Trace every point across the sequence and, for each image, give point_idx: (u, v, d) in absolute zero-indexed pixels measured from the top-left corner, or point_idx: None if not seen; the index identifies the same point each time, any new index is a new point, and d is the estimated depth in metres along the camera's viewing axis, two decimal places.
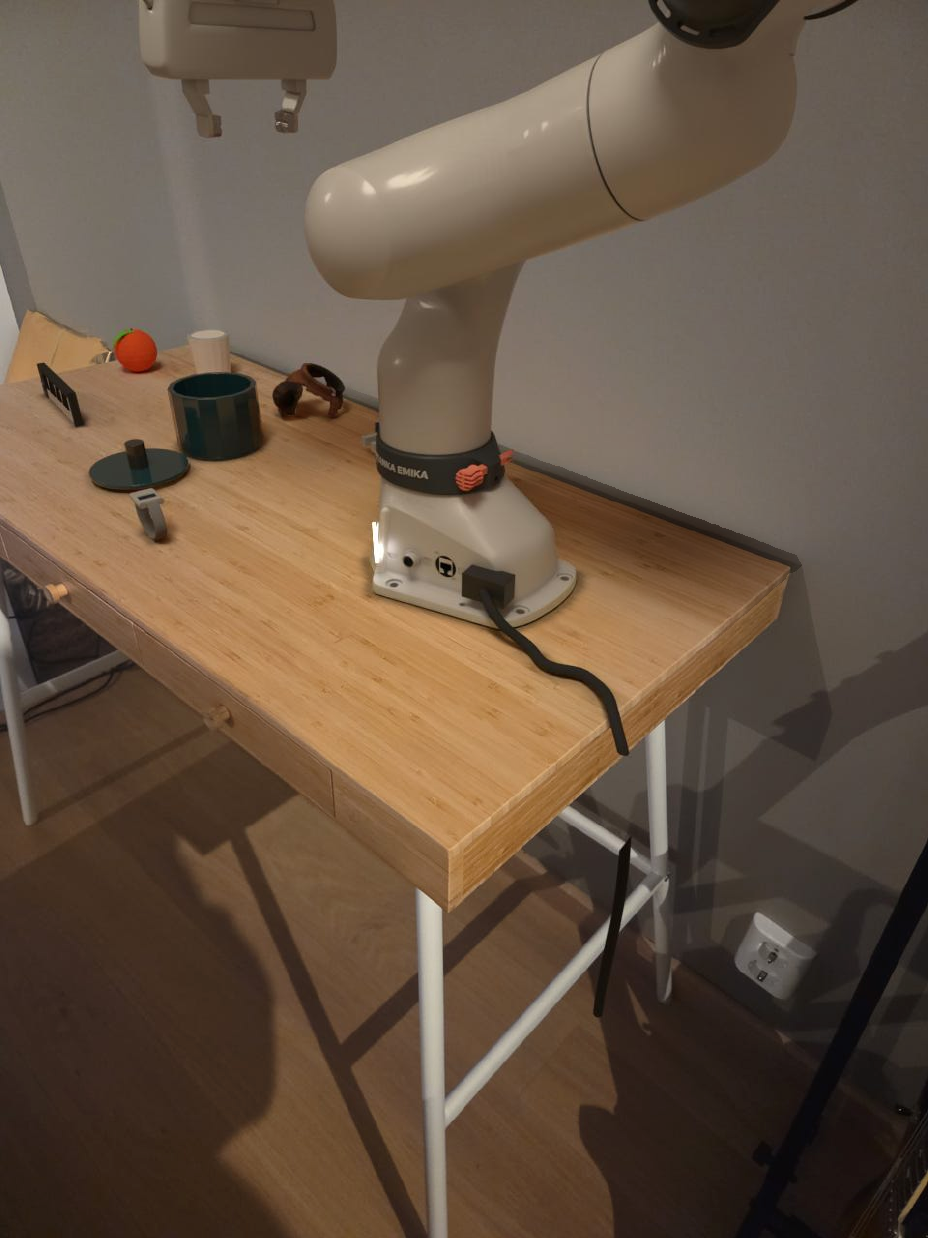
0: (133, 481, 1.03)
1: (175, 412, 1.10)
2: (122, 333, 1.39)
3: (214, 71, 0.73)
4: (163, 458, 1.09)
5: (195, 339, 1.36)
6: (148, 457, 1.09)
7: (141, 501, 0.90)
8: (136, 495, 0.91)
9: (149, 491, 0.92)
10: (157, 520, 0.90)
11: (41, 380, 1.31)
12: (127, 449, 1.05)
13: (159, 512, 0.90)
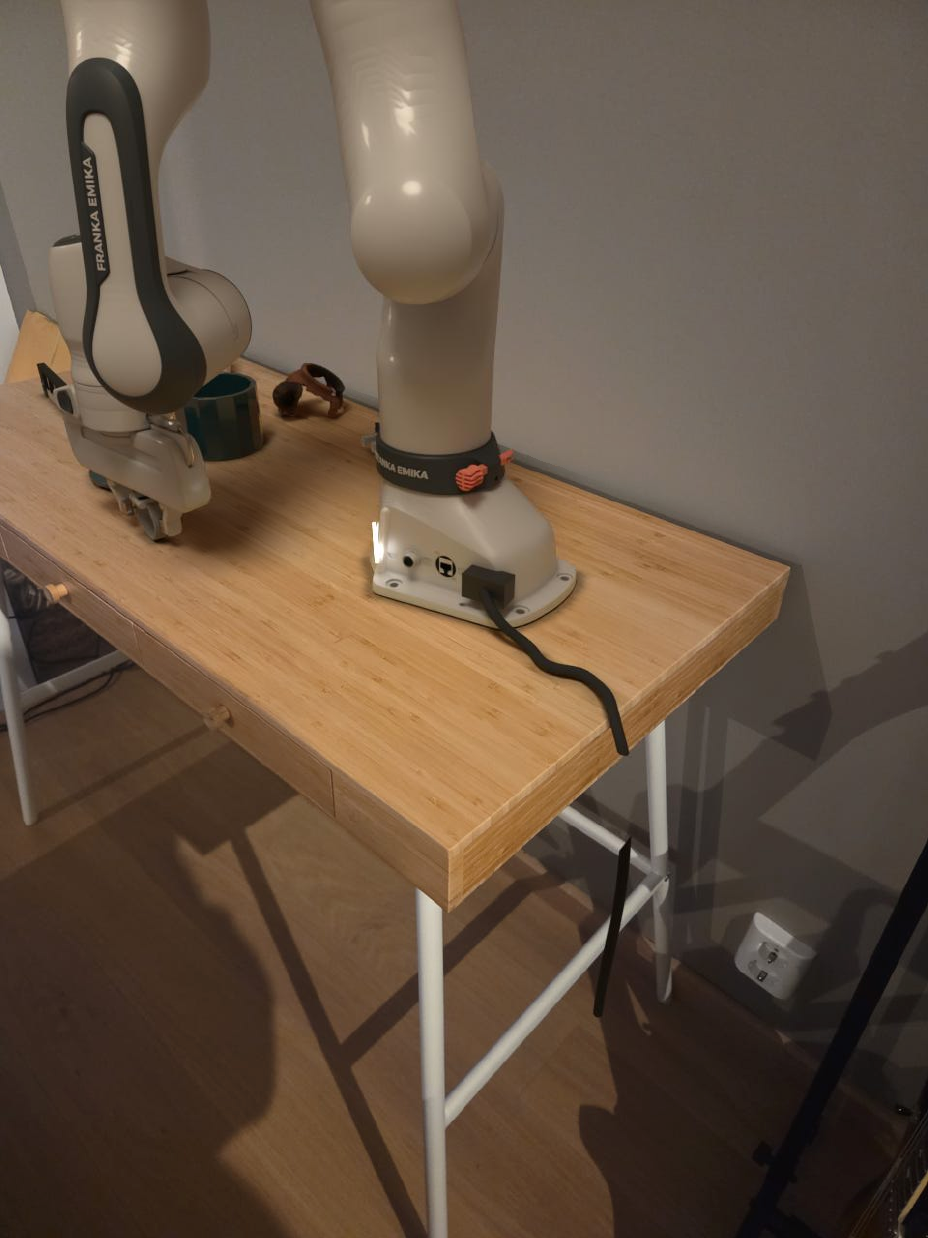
0: None
1: (175, 412, 1.10)
2: None
3: None
4: None
5: None
6: None
7: (141, 501, 0.90)
8: (135, 495, 0.91)
9: None
10: (157, 520, 0.90)
11: (41, 380, 1.31)
12: None
13: (159, 512, 0.90)
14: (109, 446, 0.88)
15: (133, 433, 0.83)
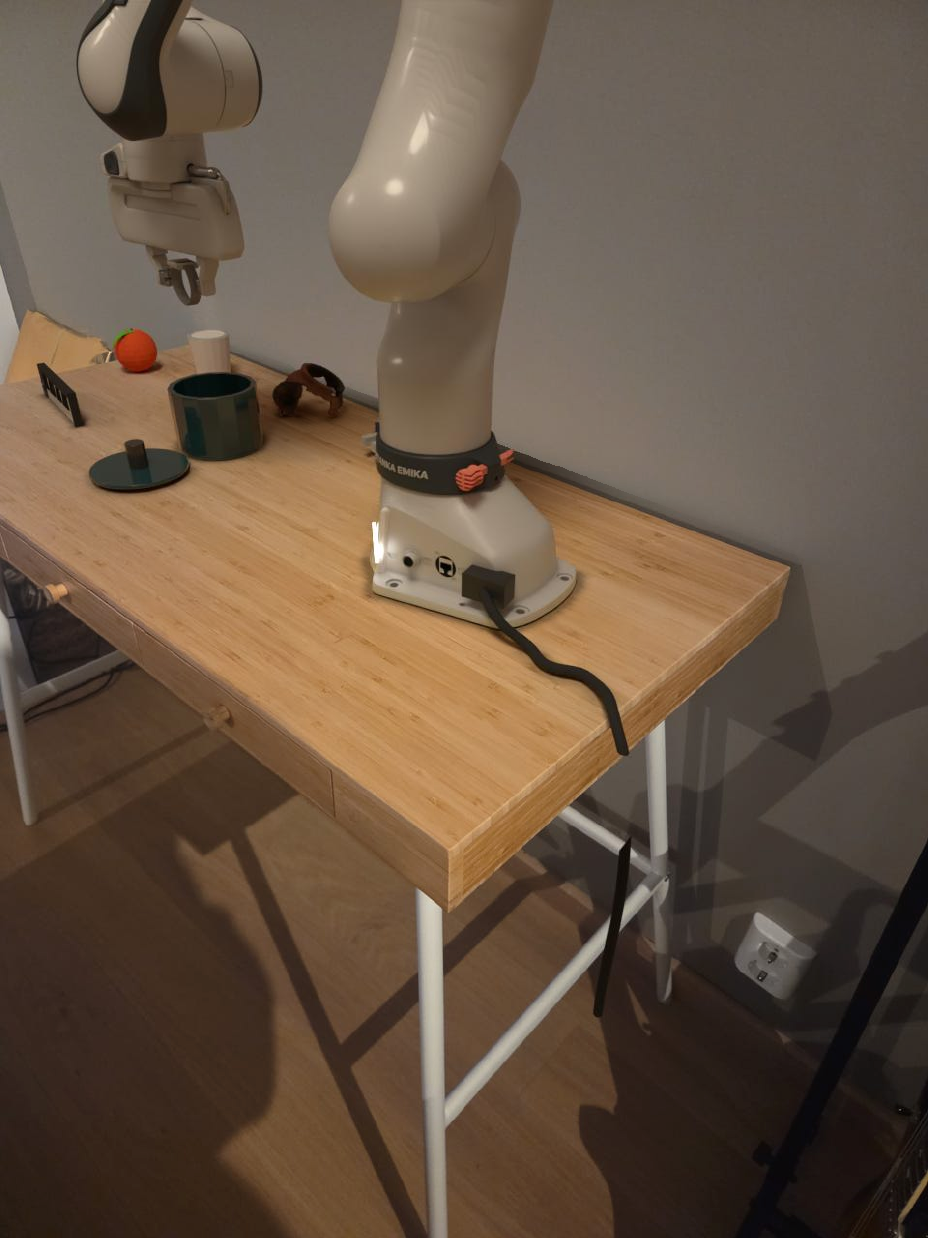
0: (133, 481, 1.03)
1: (175, 412, 1.10)
2: (122, 333, 1.39)
3: None
4: (163, 458, 1.09)
5: (195, 339, 1.36)
6: (148, 457, 1.09)
7: (178, 263, 0.98)
8: (173, 261, 1.00)
9: (184, 259, 1.00)
10: (193, 281, 0.98)
11: (41, 380, 1.31)
12: (127, 449, 1.05)
13: (194, 274, 0.99)
14: (151, 208, 0.96)
15: (175, 185, 0.92)
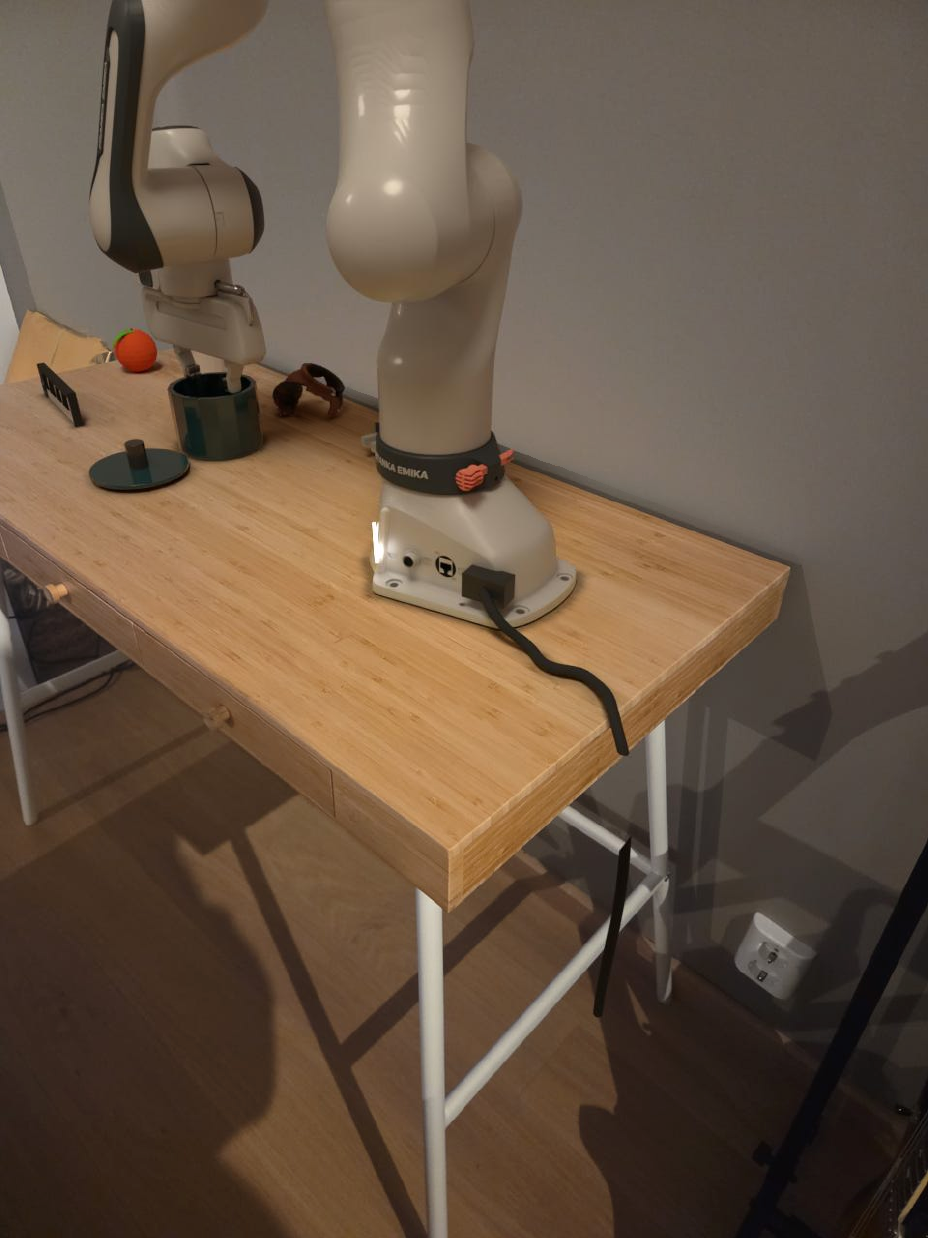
0: (133, 481, 1.03)
1: (175, 412, 1.10)
2: (122, 333, 1.39)
3: None
4: (163, 458, 1.09)
5: None
6: (148, 457, 1.09)
7: None
8: None
9: None
10: None
11: (41, 380, 1.31)
12: (127, 449, 1.05)
13: None
14: (181, 315, 1.07)
15: (203, 299, 1.02)
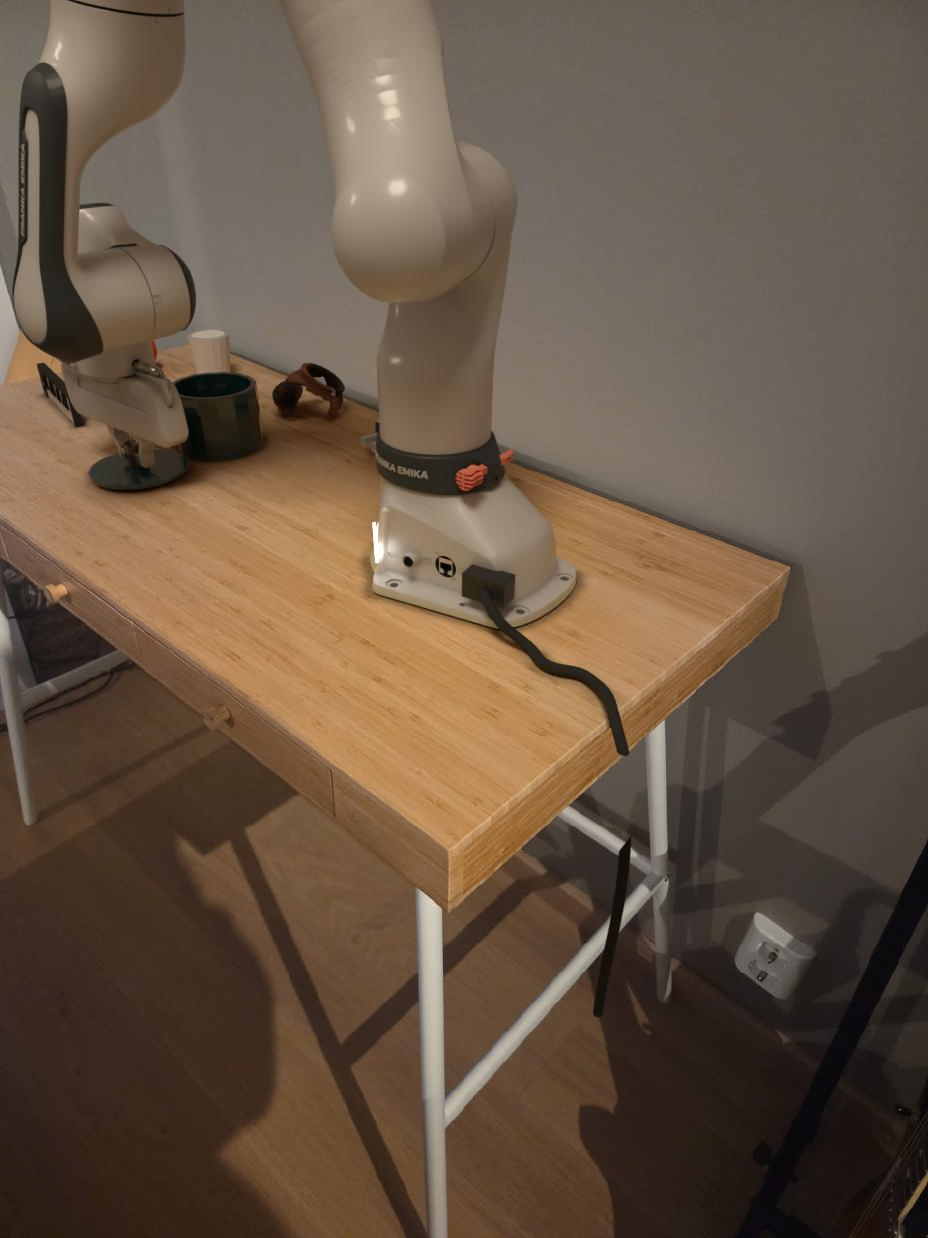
0: (133, 481, 1.03)
1: None
2: None
3: None
4: (163, 458, 1.09)
5: (195, 339, 1.36)
6: None
7: None
8: None
9: None
10: None
11: (41, 380, 1.31)
12: (127, 450, 1.05)
13: None
14: (101, 393, 1.02)
15: (121, 379, 0.97)
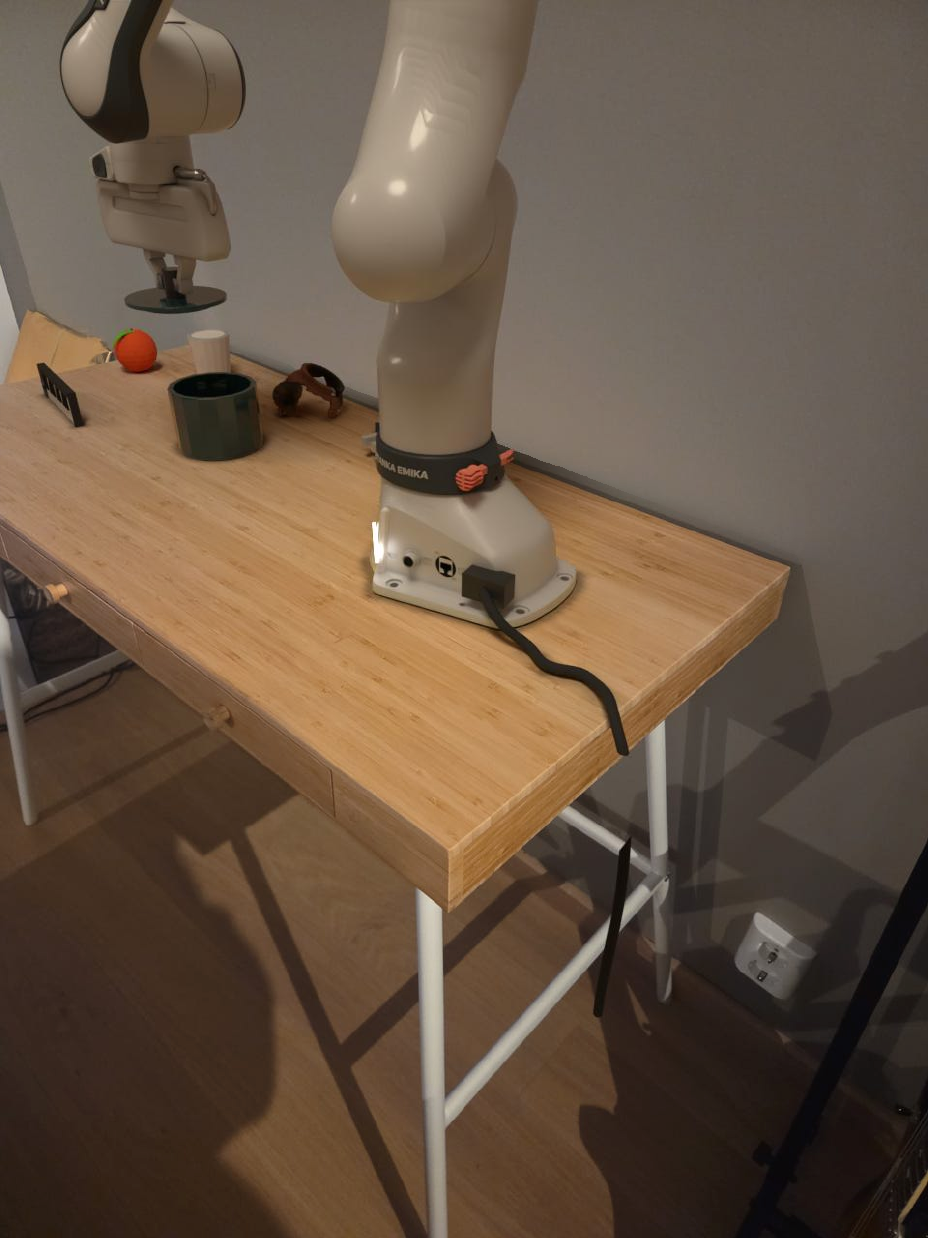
0: (171, 305, 0.99)
1: (175, 412, 1.10)
2: (122, 333, 1.39)
3: None
4: (200, 291, 1.05)
5: (195, 339, 1.36)
6: None
7: None
8: None
9: None
10: None
11: (41, 380, 1.31)
12: (165, 275, 1.00)
13: None
14: (139, 210, 0.98)
15: (161, 187, 0.93)
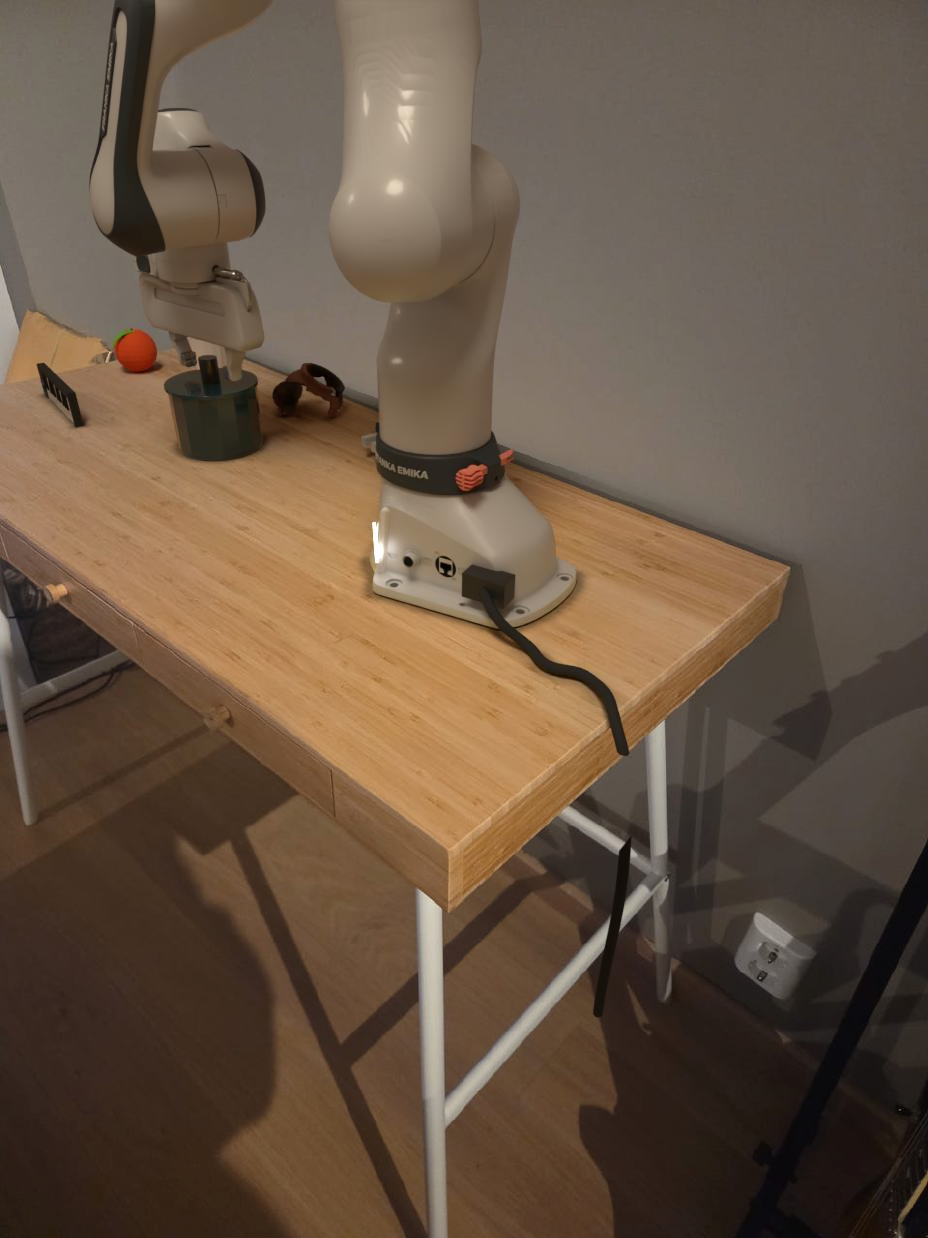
0: (208, 393, 1.07)
1: (175, 412, 1.10)
2: (122, 333, 1.39)
3: None
4: None
5: (195, 339, 1.36)
6: (218, 374, 1.13)
7: None
8: None
9: None
10: None
11: (41, 380, 1.31)
12: (201, 363, 1.09)
13: None
14: (179, 302, 1.06)
15: (201, 284, 1.01)
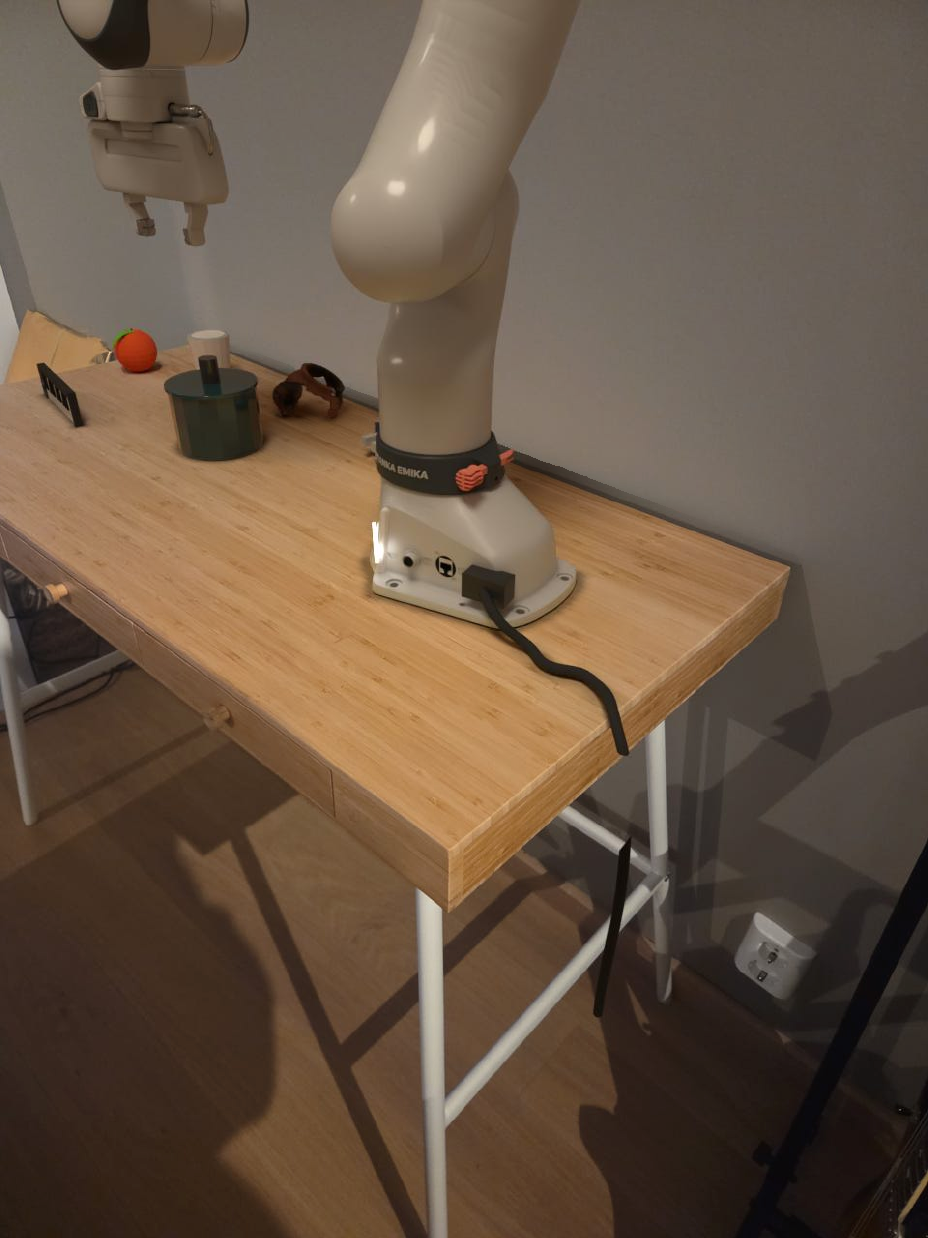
0: (208, 393, 1.07)
1: (175, 412, 1.10)
2: (122, 333, 1.39)
3: None
4: (233, 375, 1.13)
5: (195, 339, 1.36)
6: (218, 374, 1.13)
7: None
8: None
9: None
10: None
11: (41, 380, 1.31)
12: (201, 363, 1.09)
13: None
14: (132, 153, 0.93)
15: (155, 125, 0.88)
